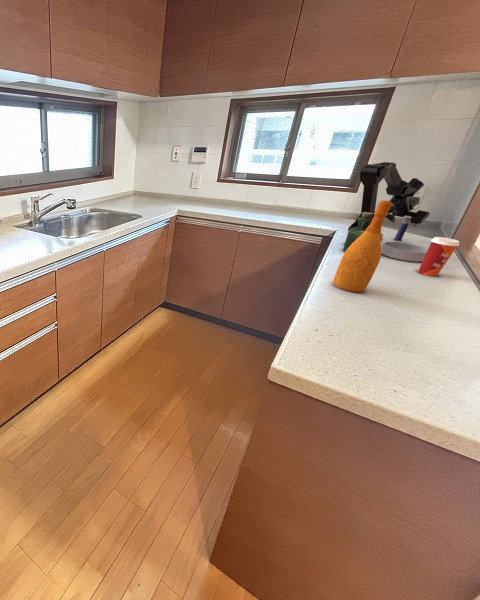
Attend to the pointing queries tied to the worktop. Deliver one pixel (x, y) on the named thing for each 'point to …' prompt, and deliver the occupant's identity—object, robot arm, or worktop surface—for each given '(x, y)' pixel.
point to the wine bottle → (362, 254)
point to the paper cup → (437, 255)
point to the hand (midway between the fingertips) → (404, 224)
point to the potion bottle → (357, 229)
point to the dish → (403, 251)
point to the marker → (402, 228)
